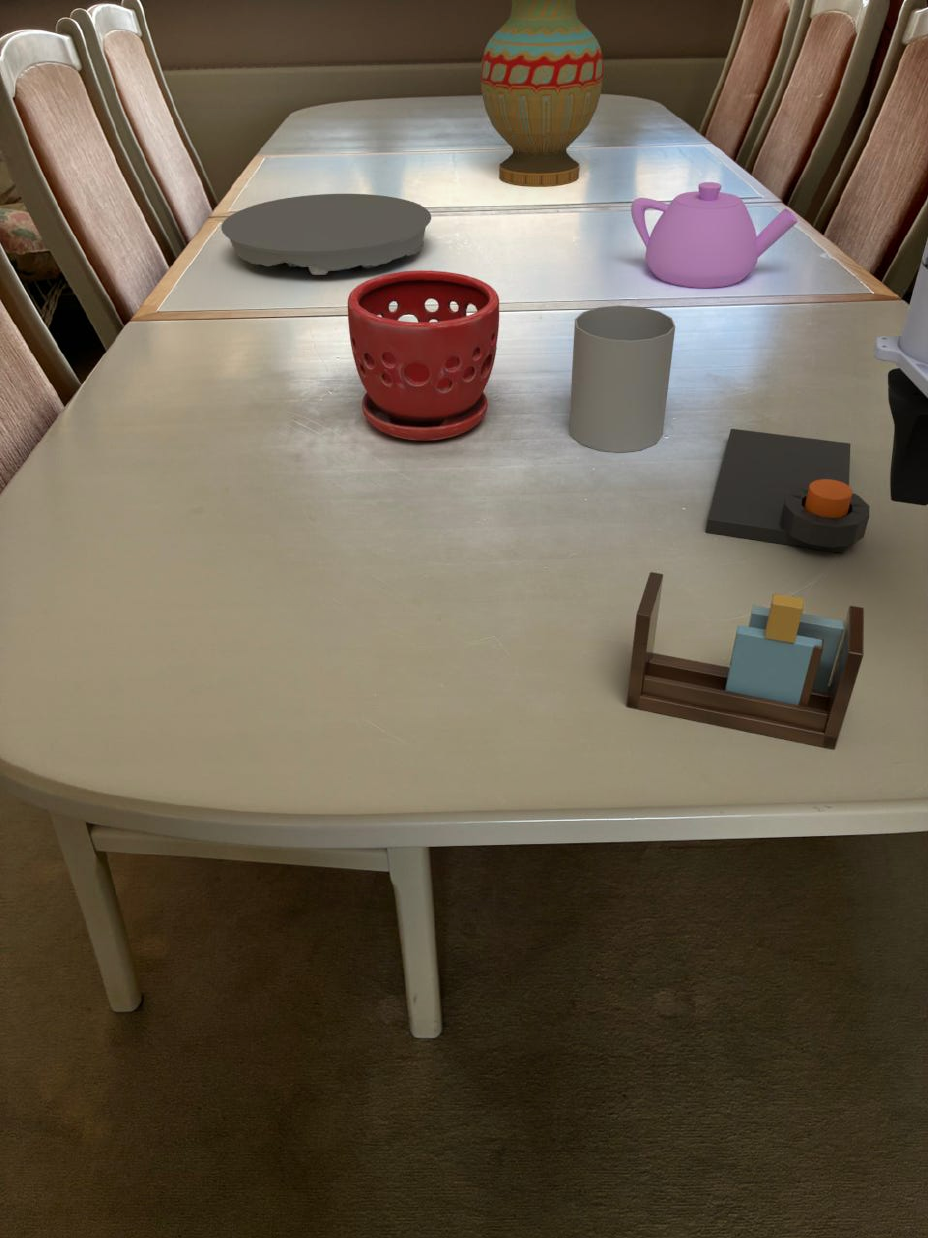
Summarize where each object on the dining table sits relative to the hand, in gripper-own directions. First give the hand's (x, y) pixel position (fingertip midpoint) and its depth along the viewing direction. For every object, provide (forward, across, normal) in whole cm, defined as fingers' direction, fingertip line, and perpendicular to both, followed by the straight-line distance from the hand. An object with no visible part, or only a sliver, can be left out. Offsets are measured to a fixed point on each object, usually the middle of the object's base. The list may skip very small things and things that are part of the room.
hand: (908, 497), depth 57 cm
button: (+7, -10, -4) cm, 13 cm away
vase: (+11, -116, -54) cm, 128 cm away
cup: (+10, -24, -22) cm, 34 cm away
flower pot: (+11, -21, -39) cm, 45 cm away
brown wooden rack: (+10, +10, -8) cm, 16 cm away
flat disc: (+11, -66, -70) cm, 97 cm away
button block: (+10, -17, -7) cm, 21 cm away
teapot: (+11, -71, -20) cm, 74 cm away
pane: (+9, +11, -6) cm, 15 cm away
